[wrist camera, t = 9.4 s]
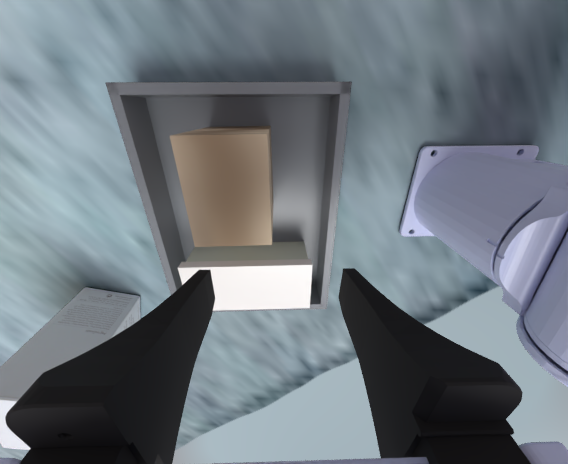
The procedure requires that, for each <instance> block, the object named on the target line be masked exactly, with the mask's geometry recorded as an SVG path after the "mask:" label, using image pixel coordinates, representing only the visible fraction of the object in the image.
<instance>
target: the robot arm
mask: <svg viewBox="0 0 568 464" xmlns="http://www.w3.org/2000/svg"><path fill="white" fill-rule="evenodd" d="M433 150H434V154H433V155H432V156H431V152H432V151H433ZM518 151H519V153H518V154H517V152H518ZM538 152H539V147H538V146H535V145H491V146H425V147H423V148H422V149H421V150H420V152H419V156H418V159H417V163H416V167H415V171H414V175H413V179H412V183H411V187H410V191H409V195H408V198H407V202H406V206H405V210H404V214H403V218H402V222H401V226H400V230H399V233H400V234H401V235H402V236H436V237H437V238H439V239H440V240H441V241H443V242H444V243H445V244H446V245H448V246H449V247H450V248H452V249H453V250H454V251H455V252H457V253H458V254H459V255H460V256H462V257H463V258H464V259H466V260H467V261H468V262H469V263H471V264H472V265H473V266H475V267H476V268H477V269H478V270H480V271H481V272H482V273H484V274H485V275H486V276H487V277H489V278H490V279H491V280H492V281H494V282H495V283H496V284H498V285H499V286H500V287H501V288H502V289H503V298H502V301H503V302H505V303H506V304H507V305H508V306H509V307H511V308H512V309H513V310H514V311H515V312H517V313H518V314H519V315H520V316H519V318H518V320H517V325H516V327H517V334H518V336H519V339H520V341H521V343H522V344H523V346H524V348H525V349H526V350H527V352H528V353H529V354H530V355H531V356H532V358H533V359H534V360H535V361H536V362H538V364H540V366H541V367H543V368H544V369H545V370H546V371H548V373H550V374H551V375H552V376H553V377H554V378H556V379H557V380H558V381H560V382H561V383H563V384H564V385H565V386H567V387H568V166H567V165H562V164H556V163H551V162H545V161H540V160H535V158H536V156H537V154H538ZM410 230H412V231H411V232H409V231H410ZM339 301H340V305H341V310H342V314H343V317H344V320H345V323H346V325H347V328H348V331H349V334H350V337H351V339H352V342H353V345H354V348H355V350H356V353H357V356H358V359H359V363H360V366H361V370H362V374H363V378H364V382H365V386H366V390H367V395H368V399H369V403H370V408H371V412H372V417H373V421H374V426H375V431H376V436H377V440H378V445H379V451H380V456H381V458H378V459H377V458H376V459H344V460H314V461H312V460H311V461H279V462H246V463H214V464H568V450H567V449H566V447H565V446H564V445H563V444H562V443H560V442H531V443H525V444H521V445H519V446H518V445H517V443H516V442H515V441H514V439H513V438H512V437H511V435H512V434H513V433H514V431H513V429H512V427H511V426H510V425H509V423H508V422H507V421H506V418H507V417H508V416H509V415H510V414H511V413H512V412H513V411H514V409H515V408H516V407H517V406H518V405H519V403H520V402H521V399H522V391H521V389H520V387H519V386H518V385H517V384H516V383H515V382H514V380H513V379H512V378H511V377H510V376H509V375H508V374H507V372H506V371H505V370H504V369H503V368H502V367H501V366H500V365H499V364H498V363H496V362H494V361H492V360H490V359H488V358H485V357H483V356H481V355H479V354H477V353H475V352H472V351H470V350H468V349H466V348H464V347H462V346H460V345H458V344H456V343H454V342H452V341H451V340H449V339H447V338H445V337H443V336H441V335H440V334H438V333H436V332H435V331H433V330H431V329H430V328H428V327H426V326H425V325H423V324H422V323H420V322H418V321H417V320H415V319H414V318H413V317H411V316H410V315H408V314H407V313H405V312H404V311H403V310H401V309H400V308H399V307H397V306H396V305H395V304H394V303H392V302H391V301H390V300H389V299H387V298H386V297H385V296H384V295H383V294H381V293H380V292H379V291H378V290H377V289H376V288H375V287H374V286H372V285H371V284H370V283H369V282H368V281H367V280H366V279H365V278H364V277H363V276H362V275H361V274H360V273H359V272H358V271H357V270H355V269H343V273H342V280H341V286H340V292H339ZM214 302H215V294H214V288H213V282H212V276H211V271H210V270H198V271H197V272H196V273H195V274H194V275H193V276H192V277H191V278H189V279H188V280H187V281H186V282H185V283H184V284H183V285H182V286H181V287H180V288H179V289H178V290H177V291H175V292H174V293H173V294H172V295H171V296H170V297H169V298H167V299H166V300H165V301H164V302H163V303H161V304H160V305H159V306H158V307H156V308H155V309H154V310H153V311H151V312H150V313H149V314H147V315H146V316H145V317H143V318H142V319H140V320H139V321H137V322H136V323H134V324H133V325H131V326H130V327H128V328H127V329H125V330H123V331H122V332H120V333H119V334H117V335H115V336H114V337H112V338H111V339H109V340H107V341H105V342H104V343H102V344H100V345H98V346H96V347H94V348H93V349H91V350H89V351H87V352H85V353H83V354H81V355H79V356H77V357H75V358H73V359H71V360H69V361H67V362H65V363H63V364H61V365H58V366H56V367H54V368H52V369H50V370H48V371H46V372H43V373H42V374H41V375H40V377H39V378H38V379H37V380H36V381H35V382H34V383H33V384H32V385H31V387H30V388H29V389H28V390H27V391H26V392H25V393H24V394H23V395H22V397H21V398H20V399H19V400H18V401H17V402H16V403H15V404H14V405H13V407H12V408H11V409H10V410H9V411H8V412H7V414H6V417H5V420H6V424H7V427H8V428H9V429H10V430H11V431H12V432H13V433H14V434H15V435H16V436H17V437H19V438H20V439H21V440H22V441H23V442H24V443H25V444H26V445H28V446H29V447H30V448H31V449H30V450H29V451H28V453H27V454H26V456H25V457H24V458H23V460H22V461H21V460H19V459H15V458H0V464H172V461H173V456H174V451H175V446H176V441H177V436H178V431H179V427H180V422H181V417H182V413H183V408H184V404H185V400H186V396H187V391H188V387H189V383H190V379H191V375H192V371H193V368H194V364H195V361H196V358H197V355H198V352H199V349H200V346H201V344H202V341H203V338H204V335H205V333H206V330H207V327H208V324H209V321H210V319H211V316H212V311H213V307H214Z"/></svg>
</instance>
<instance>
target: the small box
mask: <svg viewBox="0 0 568 464" xmlns="http://www.w3.org/2000/svg"><path fill="white" fill-rule="evenodd" d="M140 319H141V314H140V296H137V295H130V294H124V293H119V292H112V291H106V290H100V289H94V288H88V287H85V288H84V289H82V290H81V291H80V292H79V293H78V294H77V295H76V296H75V297H74V298H73V299H72V300H71V301H70V302H69V303H68V304H67V305H65V306H64V307H63V308H62V309H61V310H60V311H59V312H58V313H57V314H56V315H55V316H54V317H53V318H52V319H51V320H50V321H49V322H48V323H47V324H45V325H44V326H43V327H42V328H41V329H40V330H39V331H38V332H37V333H36V334H35V335H34V336H33V337H32V338H31V339H30V340H29V341H28V342H26V343H25V344H24V345H23V346H22V347H21V348H20V349H19V350H18V351H17V352H16V353H15V354H14V355H13V356H11V357H10V358H9V359H8V360H7V361H6V362H5V363H4V364H3V365H2V366H1V367H0V443H1V445H2V447H4V448H12V449H26V450H30V449H31V448H30V447H29V446H28V445H26V444H25V443H24V442H23V441H22V440H21V439H20V438H19V437H17V436H16V435H15V434H14V433H13V432H12V431H11V430H10V429H9V428H8V427H7V424H6V420H5V417H6V414H7V412H8V411H9V410H10V409H11V408H12V407H13V405H14V404H15V403H16V402H17V401H18V400H19V399H20V398H21V397H22V395H23V394H24V393H25V392H26V391H27V390H28V389H29V388H30V387H31V385H32V384H33V383H34V382H35V381H36V380H37V379H38V378H39V377H40V375H41V374H42V373H43V372H46V371H48V370H50V369H52V368H54V367H56V366H58V365H61V364H63V363H65V362H67V361H69V360H71V359H73V358H75V357H77V356H79V355H81V354H83V353H85V352H87V351H89V350H91V349H93V348H94V347H96V346H98V345H100V344H102V343H104V342H105V341H107V340H109V339H111V338H112V337H114V336H115V335H117V334H119V333H120V332H122V331H123V330H125V329H127V328H128V327H130V326H131V325H133V324H134V323H136V322H137V321H139V320H140Z"/></svg>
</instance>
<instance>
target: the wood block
mask: <svg viewBox="0 0 568 464" xmlns="http://www.w3.org/2000/svg"><path fill="white" fill-rule="evenodd" d="M170 140H171V144H172V149H173V153H174V158H175V162H176V166H177V171H178V175H179V180H180V184H181V188H182V193H183V197H184V202H185V206H186V210H187V215H188V219H189V224H190V228H191V232H192V237H193V241H194V246H195V247H215V246H252V245H272V234H273V176H272V150H271V126H229V127H206V128H202V129H197V130H193V131H188V132H184V133H179V134H175V135H171V136H170Z"/></svg>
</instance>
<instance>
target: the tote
mask: <svg viewBox="0 0 568 464" xmlns="http://www.w3.org/2000/svg"><path fill="white" fill-rule="evenodd" d="M351 84H352V82H127V83H106V86H107V89H108V92H109V96H110V99H111V102H112V105H113V109H114V112H115V115H116V118H117V122H118V125H119V128H120V131H121V134H122V138H123V141H124V144H125V147H126V151H127V154H128V157H129V160H130V164H131V167H132V170H133V173H134V177H135V180H136V183H137V186H138V189H139V193H140V196H141V199H142V202H143V206H144V209H145V212H146V215H147V219H148V222H149V225H150V228H151V231H152V235H153V238H154V241H155V244H156V248H157V251H158V254H159V257H160V261H161V264H162V267H163V270H164V274H165V277H166V280H167V283H168V286H169V290H170V293H171V295H172V294H173V293H174V292H175V291H177V290H178V289H179V288H180V287H181V286H182V282H181V278H180V275H179V271H178V267H179V265H180V263H181V262H186V261H187V259H188V257H189V256H190V254H191V252H192V251H193V249H194V247H195V246H194V241H193V237H192V232H191V228H190V224H189V219H188V215H187V210H186V206H185V202H184V197H183V193H182V188H181V184H180V180H179V175H178V171H177V166H176V162H175V158H174V153H173V149H172V144H171V140H170V136H171V135H175V134H179V133H184V132H188V131H193V130H197V129H202V128H206V127H229V126H271V150H272V176H273V234H272V242H302V241H304V242H305V247H306V252H307V256H308V259H311V261H312V281H311V296H310V308H293V309H256V310H218V311H212V312H226V311H263V310H301V309H327V301H328V292H329V283H330V274H331V265H332V256H333V247H334V238H335V229H336V220H337V210H338V201H339V192H340V183H341V174H342V165H343V156H344V147H345V138H346V129H347V120H348V111H349V102H350V93H351Z"/></svg>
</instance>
